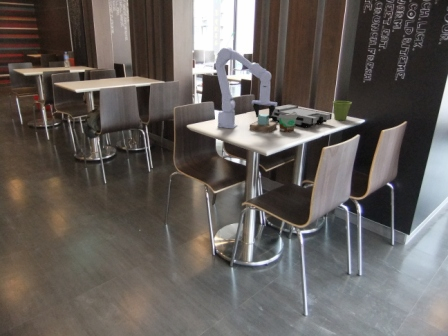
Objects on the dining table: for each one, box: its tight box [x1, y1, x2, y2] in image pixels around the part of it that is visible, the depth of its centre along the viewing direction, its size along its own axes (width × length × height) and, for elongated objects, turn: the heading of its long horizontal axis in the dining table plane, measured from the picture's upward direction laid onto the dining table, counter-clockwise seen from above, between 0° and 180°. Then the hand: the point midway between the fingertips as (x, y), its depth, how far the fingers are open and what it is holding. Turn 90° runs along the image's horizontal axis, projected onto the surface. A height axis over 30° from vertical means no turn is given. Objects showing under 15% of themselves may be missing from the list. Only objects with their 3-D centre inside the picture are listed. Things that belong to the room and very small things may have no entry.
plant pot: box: [332, 100, 353, 121], centre depth 221 cm, size 12×12×11 cm
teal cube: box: [257, 113, 270, 125], centre depth 196 cm, size 5×5×5 cm
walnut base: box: [249, 120, 278, 133], centre depth 197 cm, size 12×12×3 cm
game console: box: [271, 104, 333, 129], centre depth 212 cm, size 21×32×8 cm, turn 42°
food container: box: [278, 112, 297, 133], centre depth 191 cm, size 12×6×10 cm, turn 126°
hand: (263, 117), depth 196 cm, fingers open, 7 cm apart
